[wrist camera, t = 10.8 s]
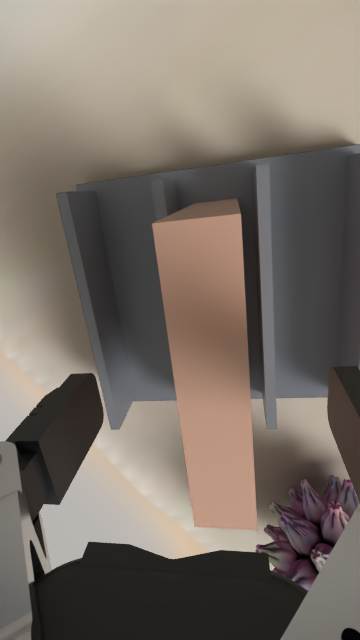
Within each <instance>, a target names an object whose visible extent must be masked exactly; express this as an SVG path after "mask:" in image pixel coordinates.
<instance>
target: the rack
mask: <svg viewBox="0 0 360 640" xmlns="http://www.w3.org/2000/svg"><path fill="white" fill-rule="evenodd" d="M77 190H78V192H63V193H56V196H57V201H58V205H59V209H60V213H61V218H62V222H63V226H64V231H65V235H66V239H67V243H68V248H69V252H70V256H71V260H72V265H73V269H74V273H75V278H76V282H77V286H78V290H79V295H80V299H81V303H82V308H83V312H84V316H85V320H86V325H87V329H88V333H89V337H90V342H91V346H92V350H93V355H94V359H95V363H96V367H97V372H98V376H99V380H100V385H101V389H102V393H103V397H104V402H105V406H106V410H107V415H108V419H109V423H110V427H111V430H113V429H120V427H121V425H122V423H123V421H124V419H125V417H126V414H127V412H128V410H129V408H130V406H131V404H132V402H133V401H166V400H177V398H176V390H175V383H174V376H173V369H172V362H171V355H170V348H169V341H168V334H167V326H166V319H165V312H164V305H163V298H162V291H161V284H160V277H159V269H158V262H157V255H156V248H155V241H154V234H153V227H152V223H154V222H156V221H158V220H160V219H163V218H165V217H167V216H169V215H171V214H173V213H175V212H178V211H180V210H182V209H184V208H186V207H188V206H190V205H192V204H195V203H201V202H209V201H218V200H226V199H235V198H237V200H238V204H239V208H240V212H241V223H242V242H243V262H244V281H245V300H246V319H247V338H248V357H249V377H250V396H251V399H263V405H264V412H265V419H266V427H267V429H277V419H276V398H313V397H328V384H329V370H330V367H340V366H357V367H358V368H359V370H360V144H359V145H352V146H345V147H338V148H331V149H324V150H317V151H310V152H303V153H296V154H289V155H282V156H275V157H268V158H261V159H254V160H247V161H240V162H233V163H226V164H219V165H212V166H205V167H198V168H191V169H184V170H177V171H170V172H163V173H155V174H148V175H141V176H134V177H127V178H120V179H113V180H106V181H99V182H92V183H85V184H78V185H77Z"/></svg>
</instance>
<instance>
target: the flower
mask: <svg viewBox="0 0 360 640" xmlns="http://www.w3.org/2000/svg"><path fill="white" fill-rule="evenodd" d="M300 483H301V487H302V490H303V495H302V494H300V493H299V492H298V491H297V490H296V488H295V487H293V488H290V490H288V493H289V495H290V497H291V502H292V508H289V507H284V506H281V505H278V504H277V503H275V502H274V501H272V502H271V503H270V504H269V506H268V508H269V509H270V510H271V511H272V512H273V513H274V515H275V516H276V518H277V520H278V523H279V525H280V527H274V526H271V525H267V527H266V528H264V531H265V533H267V534H268V535H269V536H271V537H272V539H273V540H274V542H272V543H269V544H266V545H257V546H256V548H257V549H256V553H268V556H269V562H270V563H271V564H272V565H273V566H274V567H275V569H274V570H273V572H276V573H279V574H281V575H283V576H285V577H287V578H289V579H291V580H293V581H294V582H296V583H298V584H299V585H301V586H302V587H304V588H305V589H306V590H308V591H309V589H310V588H311V586H312V584H313V582H314V581H315V579H316V577H317V576H318V574H319V572H320V570H321V569H322V567H323V565H324V563H325V562H326V560H327V558H328V557H329V555H330V553H331V551H332V550H333V548H334V546H335V544H336V543H337V541H338V539H339V538H340V536H341V534H342V532H343V531H344V529H345V527H346V525H347V524H348V522H349V520H350V519H351V517H352V515H353V513H354V512H355V510H356V508H357V507H358V505H359V504H360V503H359V501H358V498H357V496H356V494H355V492H354V487H353V485H352V482H351V481H350V480H345V479H344V483H343V488H342V487H341V485H340V481H339V478H338V477H337V478H336V477H334V476H333V475H330V477H329V486H328V487H327V489H326V491H325V492H324V496H323V497H321V496H320V495H319V494H318V493H317V492H316V491H315V490H313V489H312V488H311V486H310V484H309V483H308V481H307V480H306V479H305V478H304V479H302V480H301V482H300Z"/></svg>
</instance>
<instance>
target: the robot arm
mask: <svg viewBox="0 0 360 640" xmlns="http://www.w3.org/2000/svg"><path fill="white" fill-rule="evenodd" d="M327 411H328V420H329V425H330V428H331V431H332V433H333V436H334V439H335V441H336V444H337V446H338V449H339V451H340V454H341V456H342V459H343V462H344V464H345V467H346V469H347V472H348V474H349V477H350V479H351V482H352V485H353V487H354V490H355V492H356V495H357V497H358V500H359V503H360V370H359V368H358V367H357V366H340V367H330V370H329V384H328V406H327ZM103 416H104V413H103V407H102V402H101V398H100V394H99V390H98V386H97V381H96V378H95V376H94V375H93V374H92V373H84V374H71V375H70V376H69V377H68V378H67V379H66V380H65V381H64V383H63V384H62V385H61V386H60V387H59V388H56V389H55V390H53V391H52V392H50V393H49V394H47V395H46V396H44V398H43V399H42V400H41V401H40V402H39V403H38V404H37V406H36V408H34V409H33V410H32V411H31V413H30V414H29V416H27V417H26V418H25V419H24V420H23V421H22V423H21V424H20V425H19V426H18V427H17V428H16V429H15V431H14V432H13V433H12V434H11V435H10V436H9V438H8V439H7V440H6V441H2V442H0V640H360V504H359V505H358V507H357V508H356V510H355V512H354V513H353V515H352V517H351V519H350V520H349V522H348V524H347V525H346V527H345V529H344V531H343V532H342V534H341V536H340V538H339V539H338V541H337V543H336V544H335V546H334V548H333V550H332V551H331V553H330V555H329V557H328V558H327V560H326V562H325V563H324V565H323V567H322V569H321V570H320V572H319V574H318V576H317V577H316V579H315V581H314V582H313V584H312V586H311V588H310V589H309V591H308V590H306V589H305V588H304V587H302V586H301V585H299V584H298V583H296V582H294V581H293V580H291V579H289V578H287V577H285V576H283V575H281V574H279V573H276V572H273V571H271V570H270V567H269V556H268V553H256V552H240V551H224V550H220V551H215V552H210V553H205V554H200V555H195V556H189V557H185V558H179V559H168V558H165V557H163V556H160V555H157V554H154V553H152V552H149V551H146V550H143V549H141V548H138V547H135V546H132V545H130V544H115V543H99V542H88V545H87V547H86V550H85V552H84V555H83V557H82V558H80V559H77V560H74V561H70V562H68V563H66V564H63V565H61V566H59V567H57V568H55V569H53V570H52V569H51V565H50V559H49V554H48V549H47V543H46V538H45V533H44V528H43V522H42V518H41V515H40V512H39V511H40V509H41V508H42V506H43V504H55V505H59V504H60V503H61V501H62V499H63V497H64V495H65V493H66V491H67V490H68V488H69V486H70V484H71V482H72V480H73V478H74V477H75V475H76V473H77V471H78V469H79V467H80V466H81V464H82V462H83V460H84V458H85V456H86V454H87V453H88V451H89V449H90V447H91V445H92V443H93V442H94V440H95V438H96V436H97V434H98V432H99V430H100V429H101V426H102V423H103Z"/></svg>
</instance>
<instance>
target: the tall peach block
mask: <svg viewBox="0 0 360 640" xmlns="http://www.w3.org/2000/svg"><path fill="white" fill-rule="evenodd" d="M152 227H153V234H154V241H155V248H156V255H157V262H158V269H159V277H160V284H161V291H162V298H163V305H164V312H165V319H166V326H167V334H168V341H169V348H170V355H171V362H172V369H173V376H174V383H175V390H176V398H177V405H178V412H179V419H180V426H181V433H182V440H183V447H184V454H185V462H186V469H187V476H188V483H189V490H190V497H191V504H192V511H193V518H194V526H195V527H210V528H230V529H250V530H257V511H256V492H255V472H254V453H253V434H252V415H251V396H250V377H249V357H248V338H247V319H246V300H245V281H244V262H243V242H242V223H241V212H240V208H239V204H238V200H237V198H235V199H226V200H218V201H209V202H201V203H195V204H192V205H190V206H188V207H186V208H184V209H182V210H180V211H178V212H175V213H173V214H171V215H169V216H167V217H165V218H163V219H160V220H158V221H156V222H154V223H152Z"/></svg>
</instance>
